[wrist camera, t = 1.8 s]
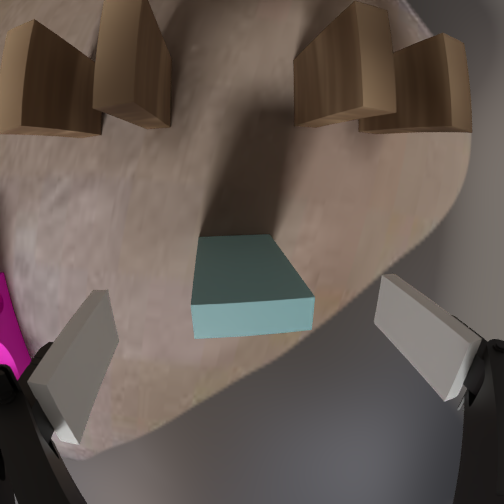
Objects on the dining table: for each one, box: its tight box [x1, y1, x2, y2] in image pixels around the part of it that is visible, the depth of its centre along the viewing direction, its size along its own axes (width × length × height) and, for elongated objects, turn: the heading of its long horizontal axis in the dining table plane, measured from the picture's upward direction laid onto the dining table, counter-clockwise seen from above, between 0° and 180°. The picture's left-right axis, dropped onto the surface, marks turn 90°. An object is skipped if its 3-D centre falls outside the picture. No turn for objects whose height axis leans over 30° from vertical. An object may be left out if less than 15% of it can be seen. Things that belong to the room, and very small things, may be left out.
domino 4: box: [293, 1, 397, 128], centre depth 14 cm, size 2×5×10 cm, turn 0°
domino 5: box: [359, 33, 472, 134], centre depth 15 cm, size 2×5×10 cm, turn 0°
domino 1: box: [0, 19, 101, 138], centre depth 12 cm, size 2×5×10 cm, turn 0°
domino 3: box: [191, 234, 315, 339], centre depth 17 cm, size 2×5×10 cm, turn 90°
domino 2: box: [93, 0, 172, 129], centre depth 13 cm, size 2×5×10 cm, turn 0°
